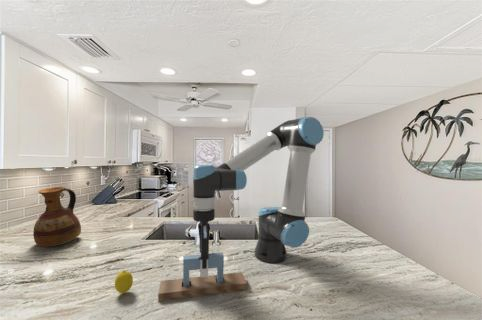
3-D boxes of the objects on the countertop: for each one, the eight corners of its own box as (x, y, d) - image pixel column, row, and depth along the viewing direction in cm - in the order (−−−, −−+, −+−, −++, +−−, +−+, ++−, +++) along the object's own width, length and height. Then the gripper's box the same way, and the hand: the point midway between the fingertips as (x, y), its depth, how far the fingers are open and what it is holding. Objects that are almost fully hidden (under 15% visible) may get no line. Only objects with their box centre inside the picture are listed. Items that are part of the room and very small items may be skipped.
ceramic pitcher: (25, 246, 121) (24, 188, 120) (66, 233, 139) (66, 183, 139) (48, 252, 113) (47, 190, 113) (89, 238, 132) (88, 185, 131)
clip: (222, 281, 87) (222, 252, 87) (223, 286, 84) (223, 255, 84) (183, 286, 84) (183, 255, 84) (183, 290, 81) (183, 259, 81)
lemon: (119, 289, 84) (118, 267, 83) (135, 288, 84) (135, 266, 84) (111, 298, 78) (111, 275, 78) (129, 298, 79) (129, 274, 78)
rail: (241, 278, 92) (241, 272, 92) (246, 290, 84) (247, 283, 84) (160, 287, 85) (160, 280, 85) (158, 301, 77) (158, 293, 77)
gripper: (192, 204, 90) (192, 264, 91) (193, 214, 75) (193, 287, 76) (212, 203, 92) (211, 262, 93) (217, 213, 77) (217, 284, 77)
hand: (203, 273), depth 84 cm, fingers closed on clip, 3 cm apart
